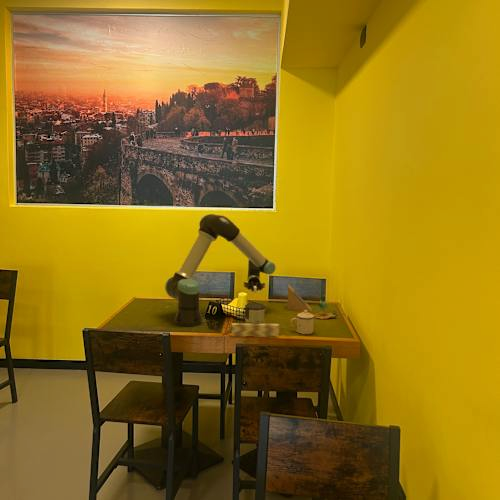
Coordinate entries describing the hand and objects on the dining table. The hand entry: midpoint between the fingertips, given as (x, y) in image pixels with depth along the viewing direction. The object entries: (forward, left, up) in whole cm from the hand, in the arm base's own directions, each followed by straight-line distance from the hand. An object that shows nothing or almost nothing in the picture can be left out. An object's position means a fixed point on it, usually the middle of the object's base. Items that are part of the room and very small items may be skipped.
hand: (255, 290), depth 262 cm
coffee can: (-1, -19, -18) cm, 26 cm away
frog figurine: (+41, +10, -18) cm, 46 cm away
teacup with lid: (+24, -19, -18) cm, 35 cm away
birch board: (-1, -26, -18) cm, 31 cm away
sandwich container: (+29, +28, -18) cm, 44 cm away
